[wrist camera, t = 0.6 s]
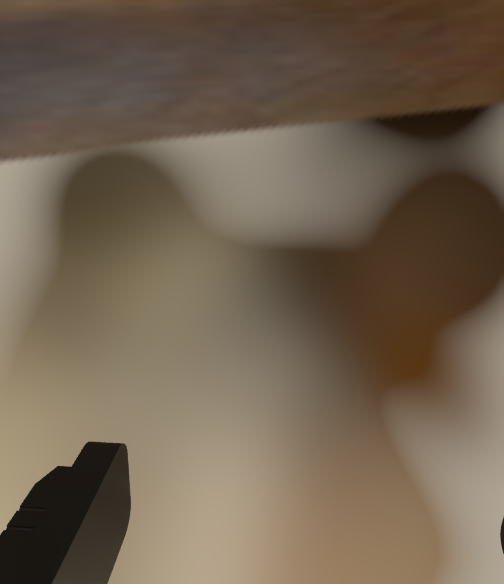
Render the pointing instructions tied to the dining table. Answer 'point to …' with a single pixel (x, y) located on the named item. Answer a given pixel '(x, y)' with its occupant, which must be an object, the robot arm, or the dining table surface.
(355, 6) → the dining table surface
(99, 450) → the robot arm
